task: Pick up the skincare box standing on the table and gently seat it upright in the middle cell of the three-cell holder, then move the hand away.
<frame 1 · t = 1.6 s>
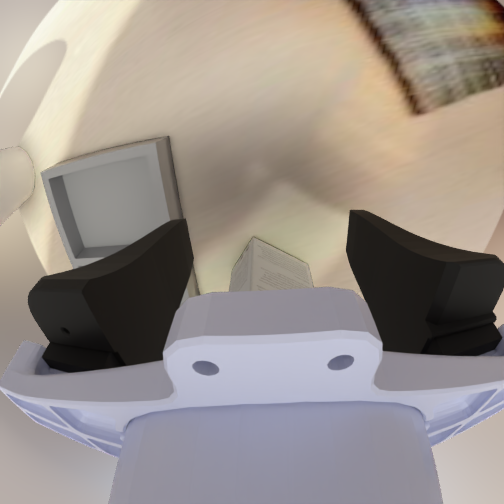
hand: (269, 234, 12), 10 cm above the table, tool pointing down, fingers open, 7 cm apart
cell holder: (142, 280, 27), on the table
skincare box: (270, 266, 26), on the table
foam cup: (18, 173, 21), on the table
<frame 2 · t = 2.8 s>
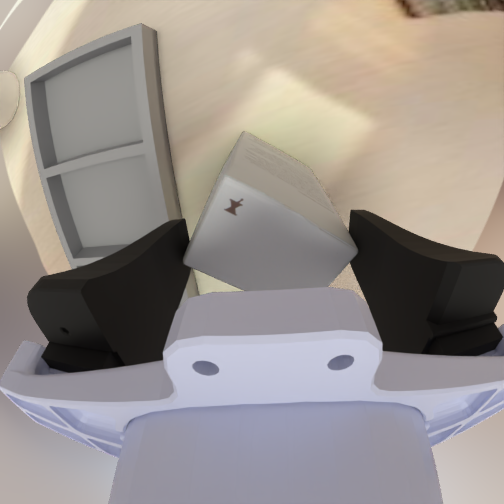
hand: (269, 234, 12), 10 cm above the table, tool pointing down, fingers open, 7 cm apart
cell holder: (116, 199, 22), on the table
skincare box: (265, 171, 21), on the table, touching gripper
foam cup: (4, 99, 16), on the table
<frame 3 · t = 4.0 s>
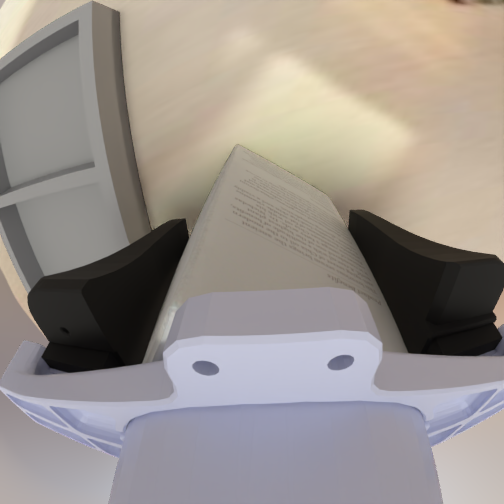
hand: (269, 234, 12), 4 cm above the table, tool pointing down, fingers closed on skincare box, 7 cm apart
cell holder: (79, 233, 17), on the table
skincare box: (267, 199, 15), on the table, touching gripper
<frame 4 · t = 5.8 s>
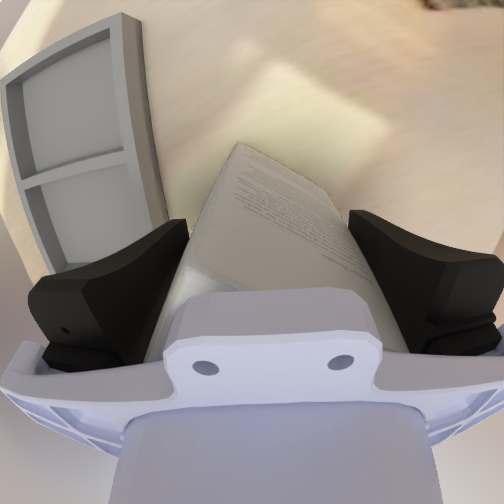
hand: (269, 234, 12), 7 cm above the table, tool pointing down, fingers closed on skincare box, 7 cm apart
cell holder: (100, 212, 19), on the table
skincare box: (266, 194, 16), point 2 cm above the table, touching gripper
when the fingers open (10 cm above the table, at t = 7.8 s): skincare box stays where it is, resting on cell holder.
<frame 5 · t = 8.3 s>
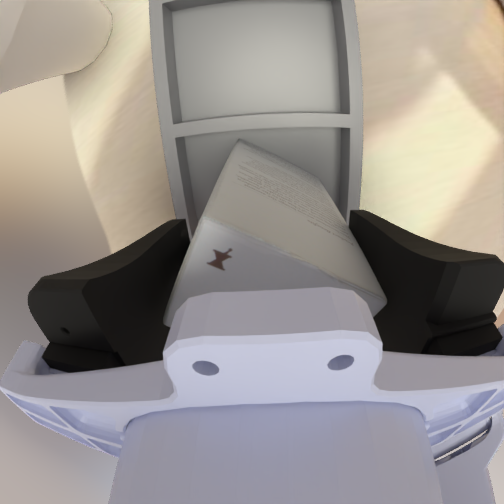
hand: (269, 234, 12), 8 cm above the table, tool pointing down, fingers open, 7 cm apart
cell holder: (265, 180, 19), on the table
skincare box: (266, 183, 18), point 1 cm above the table, touching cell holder, gripper
foam cup: (80, 36, 13), on the table
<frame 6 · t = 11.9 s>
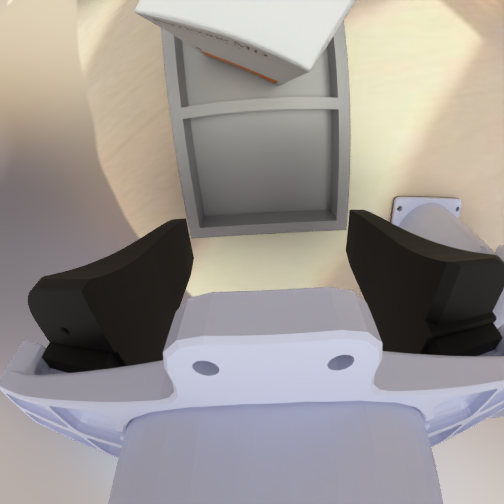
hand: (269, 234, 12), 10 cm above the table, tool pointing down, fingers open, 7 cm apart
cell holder: (255, 48, 16), on the table
skincare box: (255, 46, 15), point 1 cm above the table, touching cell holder
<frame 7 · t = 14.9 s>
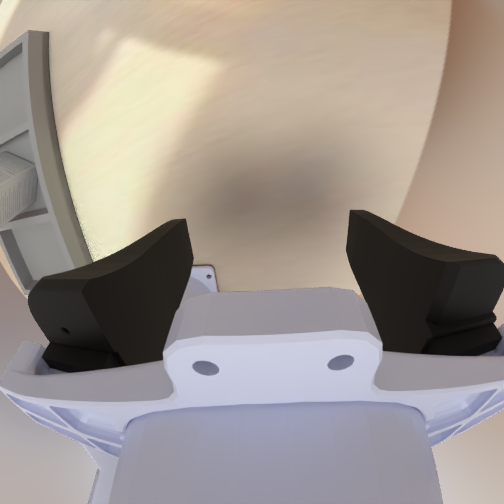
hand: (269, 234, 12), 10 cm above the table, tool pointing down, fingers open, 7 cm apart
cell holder: (26, 172, 20), on the table
skincare box: (21, 175, 20), point 1 cm above the table, touching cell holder
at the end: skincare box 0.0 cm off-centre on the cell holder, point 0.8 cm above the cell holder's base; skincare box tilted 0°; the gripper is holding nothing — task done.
